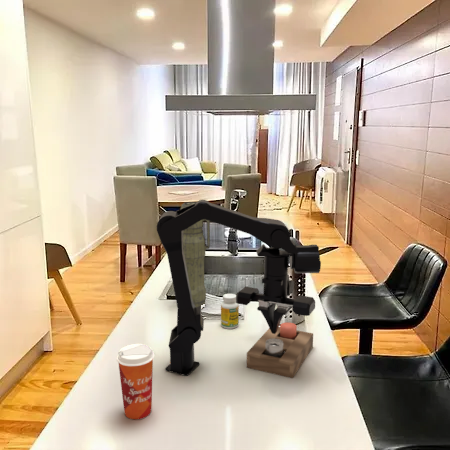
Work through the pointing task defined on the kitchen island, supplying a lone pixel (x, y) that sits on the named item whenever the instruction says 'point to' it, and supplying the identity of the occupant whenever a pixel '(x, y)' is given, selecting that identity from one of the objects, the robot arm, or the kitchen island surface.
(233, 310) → the supplement bottle
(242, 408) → the kitchen island surface
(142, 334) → the kitchen island surface
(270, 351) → the grey plunger
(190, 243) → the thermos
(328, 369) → the kitchen island surface
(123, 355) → the paper cup
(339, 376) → the kitchen island surface
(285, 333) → the pink round plug
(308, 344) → the press box
